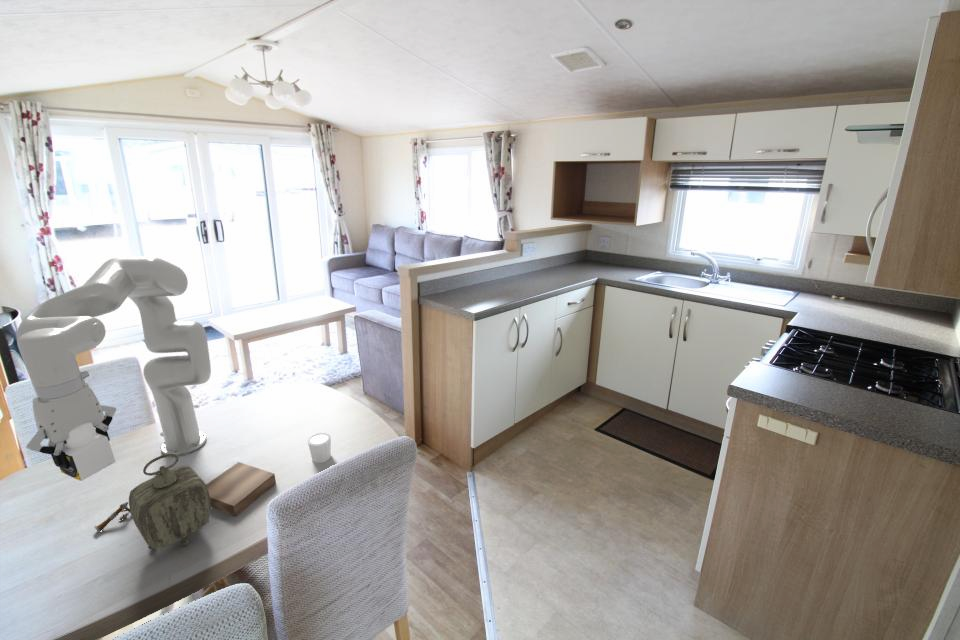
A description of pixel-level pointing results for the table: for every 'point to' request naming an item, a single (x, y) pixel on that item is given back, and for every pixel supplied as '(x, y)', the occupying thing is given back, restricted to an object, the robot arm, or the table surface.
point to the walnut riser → (239, 488)
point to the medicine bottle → (86, 452)
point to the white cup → (320, 447)
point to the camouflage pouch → (169, 505)
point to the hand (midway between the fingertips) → (84, 455)
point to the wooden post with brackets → (113, 515)
